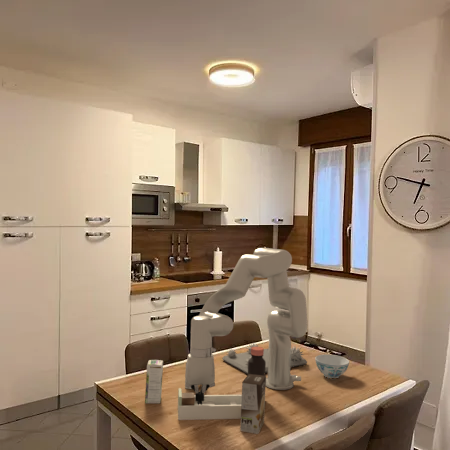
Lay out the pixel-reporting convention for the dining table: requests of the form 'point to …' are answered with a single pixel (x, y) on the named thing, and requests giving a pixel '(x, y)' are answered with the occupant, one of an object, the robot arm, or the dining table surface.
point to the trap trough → (211, 407)
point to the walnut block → (188, 399)
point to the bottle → (256, 362)
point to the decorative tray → (242, 358)
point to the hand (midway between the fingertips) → (199, 402)
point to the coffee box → (253, 403)
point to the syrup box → (154, 381)
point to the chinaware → (331, 365)
